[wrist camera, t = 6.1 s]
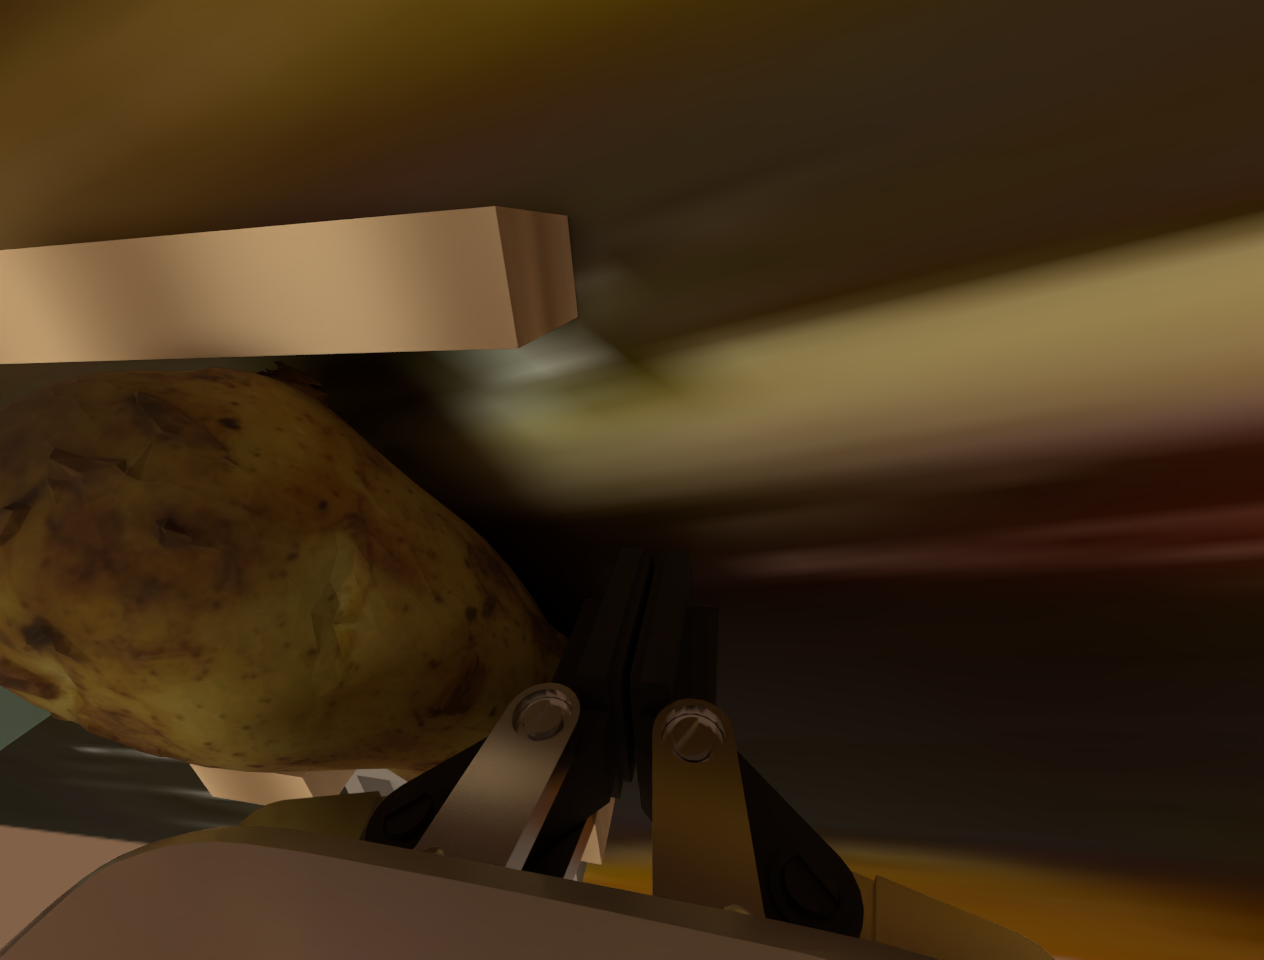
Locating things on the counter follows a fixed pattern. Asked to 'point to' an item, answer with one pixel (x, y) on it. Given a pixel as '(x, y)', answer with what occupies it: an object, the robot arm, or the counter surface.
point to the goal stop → (17, 716)
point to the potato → (247, 580)
